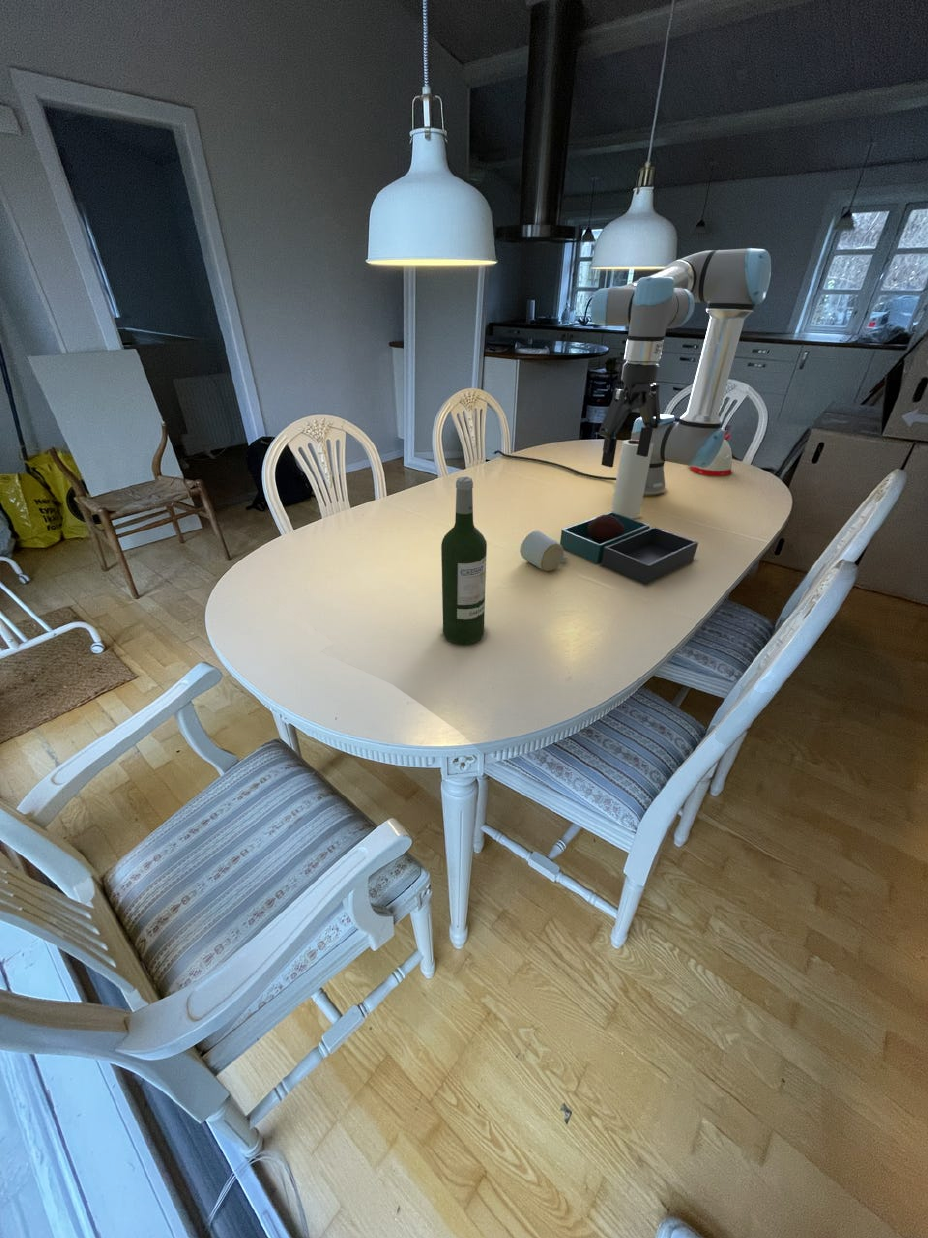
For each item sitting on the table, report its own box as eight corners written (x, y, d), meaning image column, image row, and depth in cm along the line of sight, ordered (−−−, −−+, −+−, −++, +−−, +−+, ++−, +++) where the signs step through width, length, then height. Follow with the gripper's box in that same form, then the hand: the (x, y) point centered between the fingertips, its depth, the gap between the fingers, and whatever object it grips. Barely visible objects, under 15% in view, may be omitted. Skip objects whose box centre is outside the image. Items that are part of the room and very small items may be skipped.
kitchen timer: (683, 465, 193) (693, 423, 185) (717, 464, 195) (728, 423, 187) (701, 476, 182) (712, 432, 174) (737, 474, 183) (750, 431, 175)
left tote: (559, 547, 130) (561, 529, 128) (608, 528, 141) (611, 511, 138) (597, 564, 122) (600, 545, 120) (646, 542, 133) (650, 525, 130)
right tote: (601, 565, 122) (604, 547, 119) (650, 544, 132) (654, 526, 130) (644, 585, 114) (649, 565, 111) (693, 560, 124) (698, 542, 122)
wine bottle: (470, 650, 93) (472, 490, 76) (434, 637, 96) (430, 481, 80) (491, 630, 98) (498, 476, 82) (457, 618, 102) (457, 468, 86)
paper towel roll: (606, 516, 148) (618, 441, 137) (616, 511, 152) (629, 437, 140) (628, 523, 144) (643, 446, 133) (638, 517, 148) (653, 442, 136)
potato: (620, 552, 127) (625, 523, 123) (583, 547, 130) (587, 518, 126) (623, 540, 133) (628, 512, 129) (587, 535, 136) (591, 507, 132)
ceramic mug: (541, 576, 117) (545, 545, 113) (518, 563, 122) (521, 533, 118) (574, 565, 122) (578, 535, 118) (550, 553, 128) (554, 524, 124)
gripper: (620, 369, 101) (604, 474, 113) (689, 359, 114) (668, 454, 126) (590, 365, 106) (578, 466, 118) (659, 356, 119) (642, 448, 131)
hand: (624, 460), depth 122 cm, fingers open, 13 cm apart
